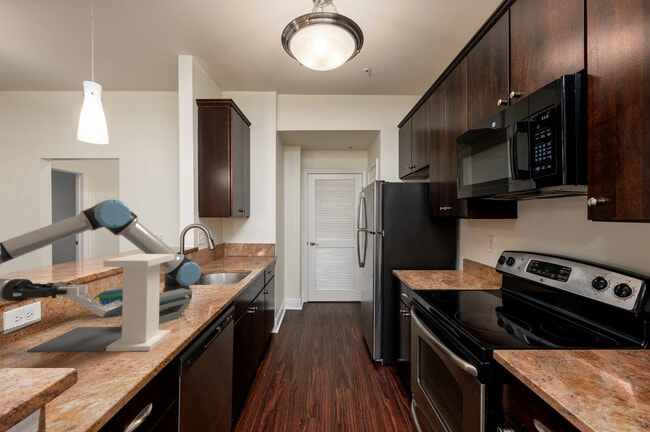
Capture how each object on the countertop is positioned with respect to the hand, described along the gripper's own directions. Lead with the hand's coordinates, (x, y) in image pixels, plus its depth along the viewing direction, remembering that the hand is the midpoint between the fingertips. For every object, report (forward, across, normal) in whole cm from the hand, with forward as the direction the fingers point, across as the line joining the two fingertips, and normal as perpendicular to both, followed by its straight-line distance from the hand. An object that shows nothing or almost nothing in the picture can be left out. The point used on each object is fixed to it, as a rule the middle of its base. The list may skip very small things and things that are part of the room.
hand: (82, 290), depth 100 cm
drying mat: (0, -4, -18) cm, 19 cm away
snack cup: (-10, -31, -19) cm, 37 cm away
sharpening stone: (+15, -22, -18) cm, 33 cm away
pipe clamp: (+16, -34, -19) cm, 42 cm away
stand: (+20, -1, -18) cm, 27 cm away
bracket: (-1, -3, -4) cm, 5 cm away
